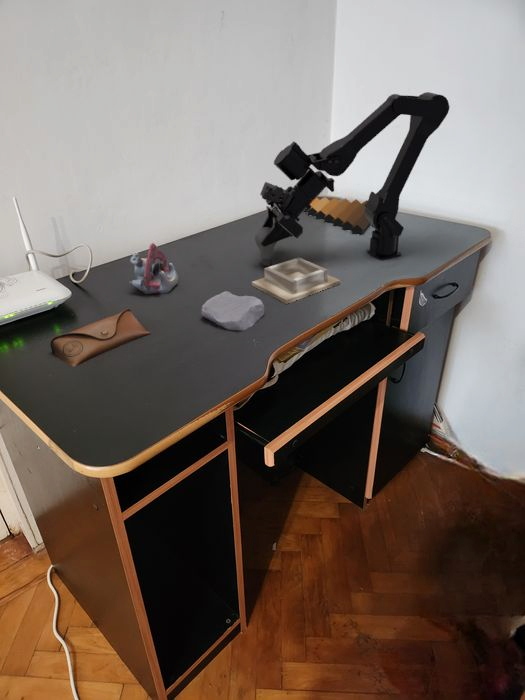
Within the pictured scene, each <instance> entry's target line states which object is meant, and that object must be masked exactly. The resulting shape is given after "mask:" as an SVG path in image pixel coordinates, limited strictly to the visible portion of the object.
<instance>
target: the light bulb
mask: <svg viewBox="0 0 525 700" xmlns="http://www.w3.org/2000/svg"><path fill="white" fill-rule="evenodd" d="M270 230H271V228H269V227H263V228H262V227H261V228H259V229H258V230H257V231H256V233H255V235H254V242H255V244H256V246H257V247H258V250H259V252H260V257H261V261H262V263H261V264H262V265H263V266H265V267H270V266H271V265H272V259H273V258H272V257H273V251H274V249H275V246H276V245H277V242H278V241H277V242H275V243H272V244H270V245H268V246H265V247H264V246H262V245H261V243H262V241H263V240H264V238H265V237H266V235H267V234H268V232H269V231H270Z"/></svg>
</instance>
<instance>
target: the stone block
mask: <svg viewBox="0 0 525 700" xmlns="http://www.w3.org/2000/svg"><path fill="white" fill-rule="evenodd" d="M263 303H264V302H263V301H262V300H261V299H260V298H257V297H256V296H251V295H242V296H238V295H236V294H233V293H231V292H230V291H223V292H221V293H220V294H216V295H214V296H212V297H210V298H209V299H207V300H206V301H205V302H204V304H202V306H201V312H200V314H201V315H202V316H203V317H204V318H205V319H206V320H207V319H208V320H209V321H211V322H213V323H215V324H216V325H218V326H220V327H222V328H224V329H225V330H229V331H230V330H231V331H238V332H239V331H243V332H244V331H246V330H248V329H249V327H250V328H251V327H253V325H254V324H255V323H256V322H257V321H259V320H260V319H261V318H262V317H264V314H265V305H264V304H263Z"/></svg>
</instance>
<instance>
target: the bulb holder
mask: <svg viewBox="0 0 525 700" xmlns="http://www.w3.org/2000/svg"><path fill="white" fill-rule="evenodd" d="M263 270H264V277H262V278H258V279H257V280H254V281H253V280H252V281H251V285H252V287H254V288H256V289H258V290H259V291H261V292H263V293H265V294H266V295H268V296H270V297H272V298H273V299H276V300H277V299H278V301H279V300H280V301H279V302H281V303H283V304H285V305H289V304H291V303H293V302H297V301H299V300H302V299H304V298H307V297H310V296H312V294H313V295H315V293H316V294H318V293H321V292H323V291H322V290H324V291H325V289H326V290H328V289H327V288H329V289H331V288H330V287H332V288H334V287H336V286H335V285H337V286H339V285H338V284H340V285H341V279H338V278H336V277H333V276H331V275H329V274H328V272H329V270H328V269H327V268H325V267H322V266H321V265H318V264H316V263H313V262H310V261H308V260H306V259H304V258H301V257H295V258H293V259H290V260H286V261H283V262H279V263H277V264H273V265H269V266H266V267H265V268H263ZM333 286H334V287H333ZM320 291H321V292H320ZM317 292H318V293H317ZM309 295H310V296H309ZM296 300H297V301H296ZM288 303H289V304H288Z"/></svg>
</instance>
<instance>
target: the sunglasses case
mask: <svg viewBox="0 0 525 700" xmlns="http://www.w3.org/2000/svg"><path fill="white" fill-rule="evenodd" d="M150 334H151V331H149V330H147V329H146V328H145V327H144V326H143V325H142V323H141V322H140V321H139V319H137V318H136V316H135V314H133V313H132V311H131V309H130V308H128V309H124V310H123V311H121V312H119V313H117V314H113V315H112V316H109V317H105V318H103V319H100V320H98V321H94V322H92V323H89V324H87V325H85V326H83V327H80V328H78V329H75V330H72V331H69V332H67V333H63V334H60V335H57V336H55V337H53V338H52V339H51V341H50V345H49V346H50V349H51V352H52V354H53V355H55V356H56V357H58V358H59V359H62V361H64V362H65V363H67V364H69V365H70V366H72V367H77V366H79V365H81V364H83V363H85V362H87V361H89V360H91V359H93V358H95V357H97V356H100V355H101V354H104V353H106V352H108V351H111V350H113V349H116V348H117V347H120V346H123V345H126V344H127V343H130V342H132V341H135V340H137V339H140V338H142V337H146V336H148V335H150Z"/></svg>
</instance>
